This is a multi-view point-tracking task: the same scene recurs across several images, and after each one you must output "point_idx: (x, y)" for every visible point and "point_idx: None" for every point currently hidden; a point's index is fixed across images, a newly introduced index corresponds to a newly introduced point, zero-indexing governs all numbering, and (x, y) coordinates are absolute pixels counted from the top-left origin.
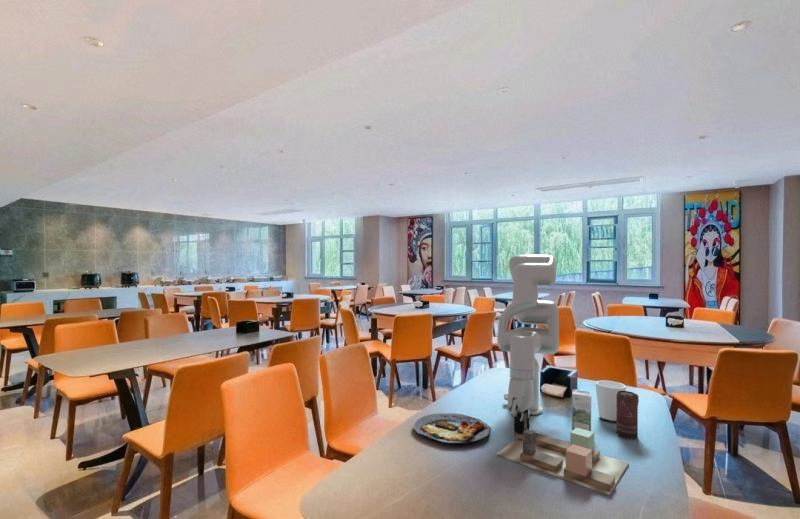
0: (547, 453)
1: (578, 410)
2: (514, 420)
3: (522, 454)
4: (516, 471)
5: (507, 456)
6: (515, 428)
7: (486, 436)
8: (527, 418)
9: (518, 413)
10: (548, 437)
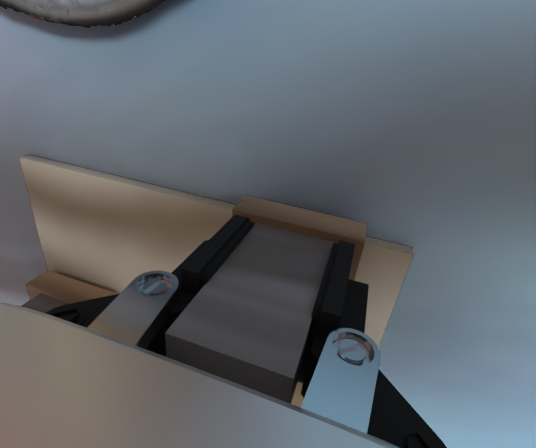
0: None
1: None
2: (190, 265)
3: (32, 292)
4: (5, 258)
5: (38, 212)
6: (201, 244)
7: (62, 21)
8: (300, 381)
9: (172, 358)
10: (297, 404)
